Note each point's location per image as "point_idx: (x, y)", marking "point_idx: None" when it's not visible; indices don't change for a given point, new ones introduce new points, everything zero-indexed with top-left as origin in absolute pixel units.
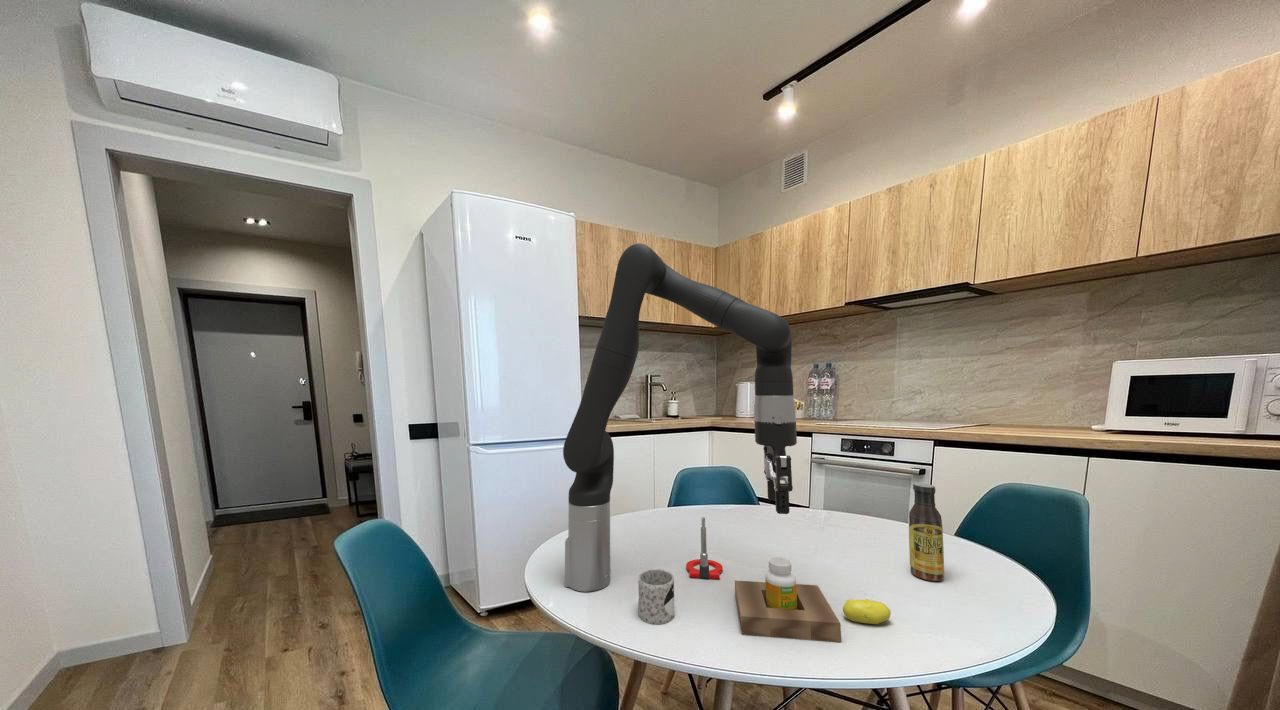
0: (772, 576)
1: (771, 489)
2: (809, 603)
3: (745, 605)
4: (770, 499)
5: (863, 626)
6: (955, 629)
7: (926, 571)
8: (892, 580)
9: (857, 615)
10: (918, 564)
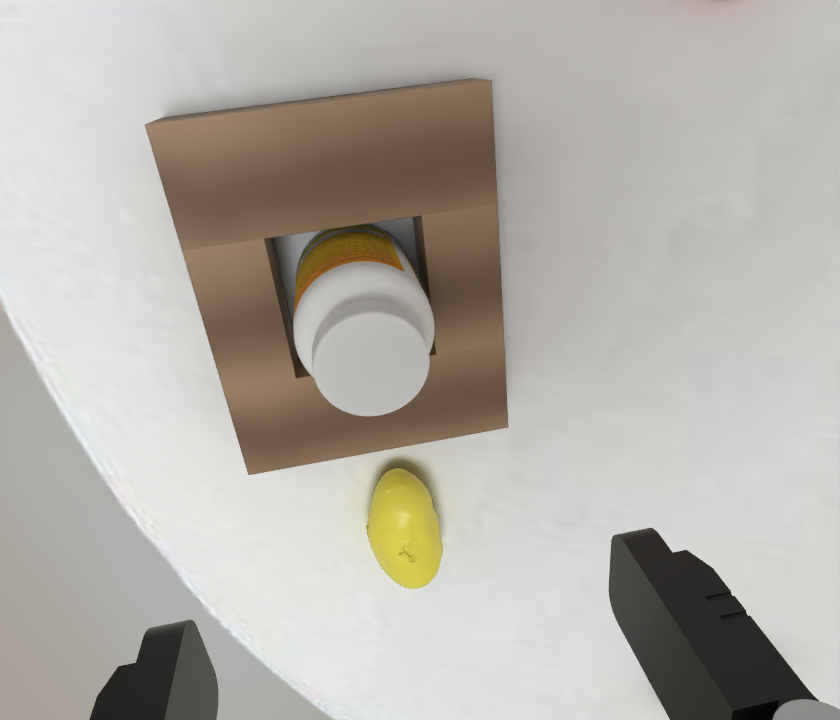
0: (323, 305)
1: (667, 643)
2: None
3: (249, 144)
4: (617, 546)
5: (367, 500)
6: (415, 668)
7: None
8: None
9: (370, 507)
10: None
